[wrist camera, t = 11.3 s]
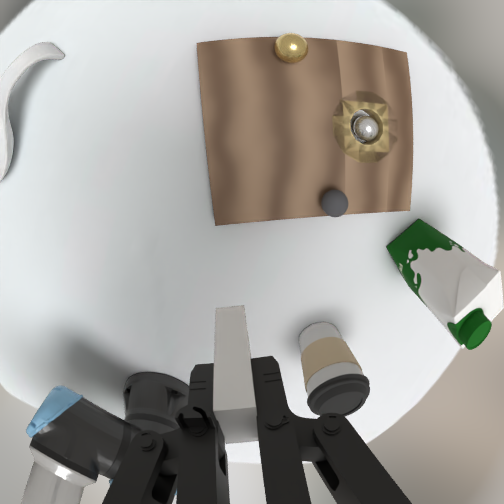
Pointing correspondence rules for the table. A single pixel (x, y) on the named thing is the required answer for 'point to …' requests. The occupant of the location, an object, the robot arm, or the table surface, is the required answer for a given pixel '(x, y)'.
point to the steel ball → (366, 128)
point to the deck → (304, 128)
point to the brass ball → (291, 47)
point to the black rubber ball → (334, 203)
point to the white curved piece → (3, 140)
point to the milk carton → (449, 282)
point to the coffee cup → (331, 372)
